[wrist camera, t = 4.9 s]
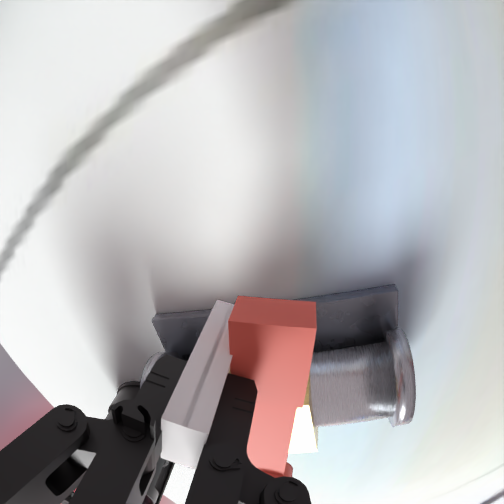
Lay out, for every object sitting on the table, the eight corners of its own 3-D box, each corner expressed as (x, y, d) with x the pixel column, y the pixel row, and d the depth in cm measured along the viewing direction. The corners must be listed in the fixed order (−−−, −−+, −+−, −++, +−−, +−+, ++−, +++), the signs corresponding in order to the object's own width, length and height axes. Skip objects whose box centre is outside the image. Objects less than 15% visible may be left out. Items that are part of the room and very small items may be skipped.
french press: (101, 379, 32) (8, 522, 11) (159, 373, 30) (59, 562, 9) (152, 437, 36) (92, 569, 15) (210, 437, 33) (156, 597, 12)
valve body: (199, 404, 30) (168, 483, 21) (156, 314, 26) (96, 397, 17) (391, 389, 26) (407, 480, 16) (394, 284, 22) (437, 383, 12)
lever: (289, 481, 17) (287, 500, 15) (237, 475, 17) (232, 494, 16) (326, 302, 11) (329, 329, 9) (227, 294, 11) (215, 319, 10)
